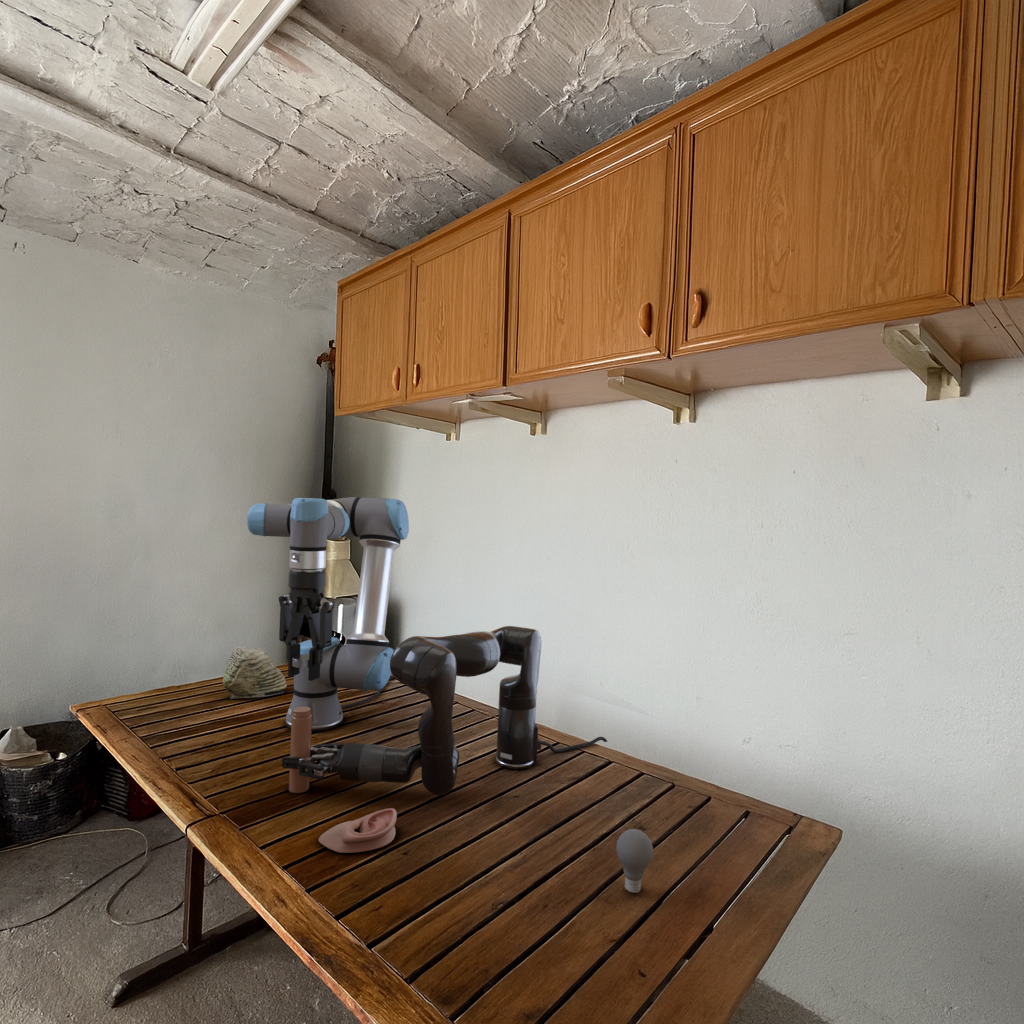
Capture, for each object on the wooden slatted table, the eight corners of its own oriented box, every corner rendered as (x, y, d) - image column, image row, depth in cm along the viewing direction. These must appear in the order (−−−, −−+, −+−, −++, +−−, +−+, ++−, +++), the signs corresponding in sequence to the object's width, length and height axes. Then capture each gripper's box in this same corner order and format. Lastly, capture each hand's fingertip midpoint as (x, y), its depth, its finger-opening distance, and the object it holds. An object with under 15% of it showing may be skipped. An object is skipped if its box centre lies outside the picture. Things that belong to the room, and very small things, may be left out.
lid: (297, 661, 139) (297, 653, 139) (319, 662, 139) (319, 654, 139) (288, 667, 134) (288, 659, 134) (311, 668, 134) (311, 660, 134)
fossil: (218, 695, 195) (220, 647, 195) (278, 685, 208) (279, 640, 207) (228, 703, 189) (230, 653, 188) (289, 692, 201) (290, 645, 201)
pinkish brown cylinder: (299, 782, 140) (302, 704, 140) (313, 787, 138) (316, 708, 138) (284, 789, 136) (287, 709, 136) (298, 794, 134) (301, 713, 134)
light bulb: (610, 879, 108) (613, 822, 108) (644, 879, 109) (647, 822, 109) (619, 902, 102) (622, 840, 102) (655, 901, 103) (658, 840, 103)
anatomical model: (310, 826, 114) (340, 797, 125) (309, 848, 114) (339, 817, 125) (379, 837, 111) (403, 806, 122) (378, 859, 111) (403, 827, 123)
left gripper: (262, 567, 136) (259, 674, 137) (329, 575, 129) (325, 688, 130) (288, 564, 143) (284, 666, 144) (352, 571, 136) (348, 679, 137)
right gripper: (375, 733, 143) (300, 728, 144) (356, 758, 129) (273, 753, 130) (373, 766, 143) (299, 761, 144) (354, 795, 129) (272, 789, 130)
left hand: (303, 676), depth 137 cm, fingers closed on lid, 5 cm apart
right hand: (287, 757), depth 137 cm, fingers closed on pinkish brown cylinder, 4 cm apart
